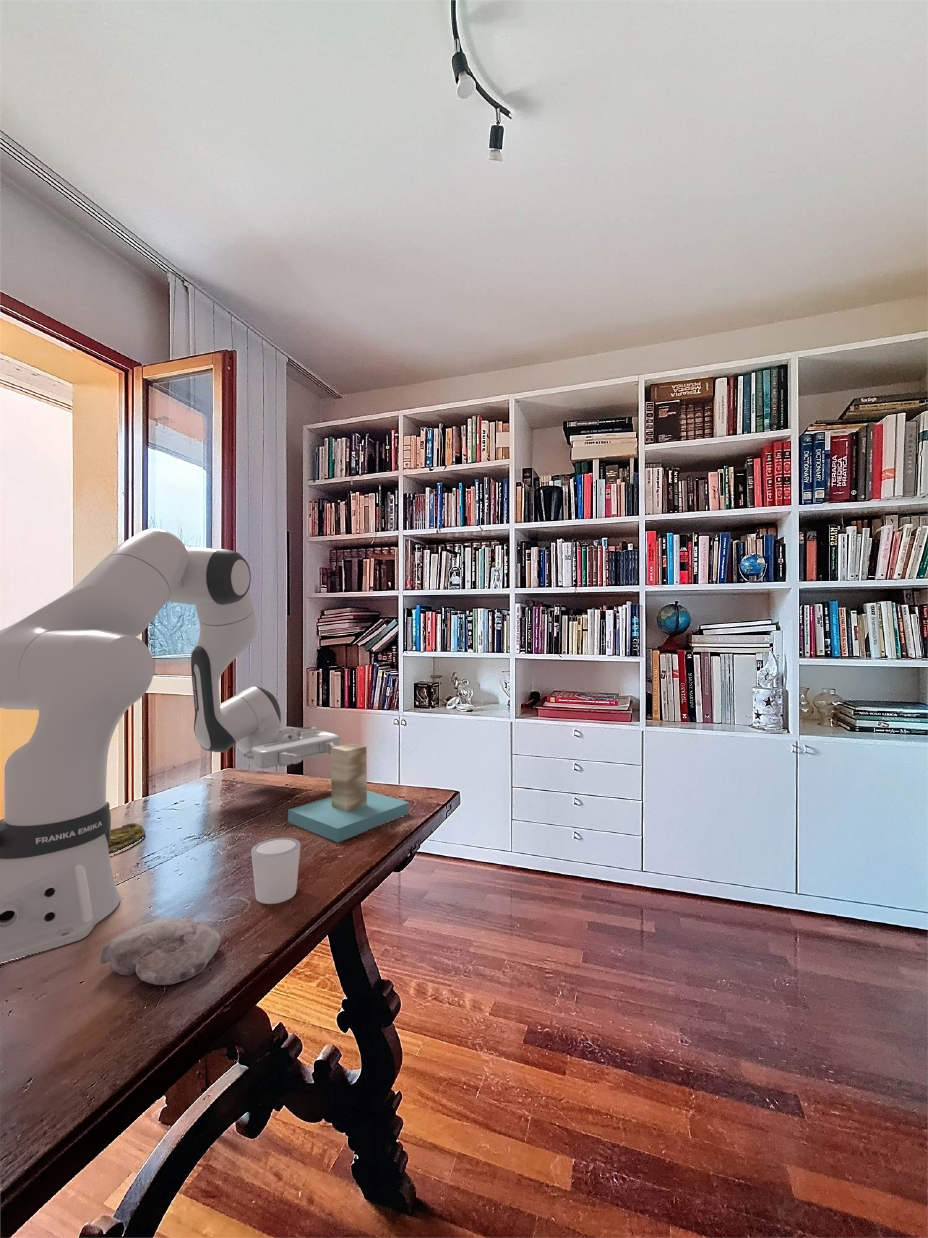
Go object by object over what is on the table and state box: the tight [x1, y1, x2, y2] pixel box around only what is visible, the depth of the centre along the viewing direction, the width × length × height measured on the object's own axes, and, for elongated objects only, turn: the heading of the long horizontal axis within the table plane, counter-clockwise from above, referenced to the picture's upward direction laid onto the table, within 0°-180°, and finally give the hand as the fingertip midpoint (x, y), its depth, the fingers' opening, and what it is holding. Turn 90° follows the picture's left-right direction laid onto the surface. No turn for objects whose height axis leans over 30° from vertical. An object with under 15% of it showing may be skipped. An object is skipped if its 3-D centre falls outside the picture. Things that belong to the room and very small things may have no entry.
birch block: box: [330, 742, 368, 812], centre depth 108 cm, size 5×5×12 cm
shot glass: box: [250, 837, 301, 905], centre depth 78 cm, size 7×7×7 cm
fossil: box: [98, 918, 222, 986], centre depth 62 cm, size 12×4×10 cm
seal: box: [108, 822, 146, 854], centre depth 97 cm, size 9×5×15 cm
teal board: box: [287, 789, 410, 843], centre depth 108 cm, size 18×16×2 cm
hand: (317, 755), depth 116 cm, fingers open, 8 cm apart
